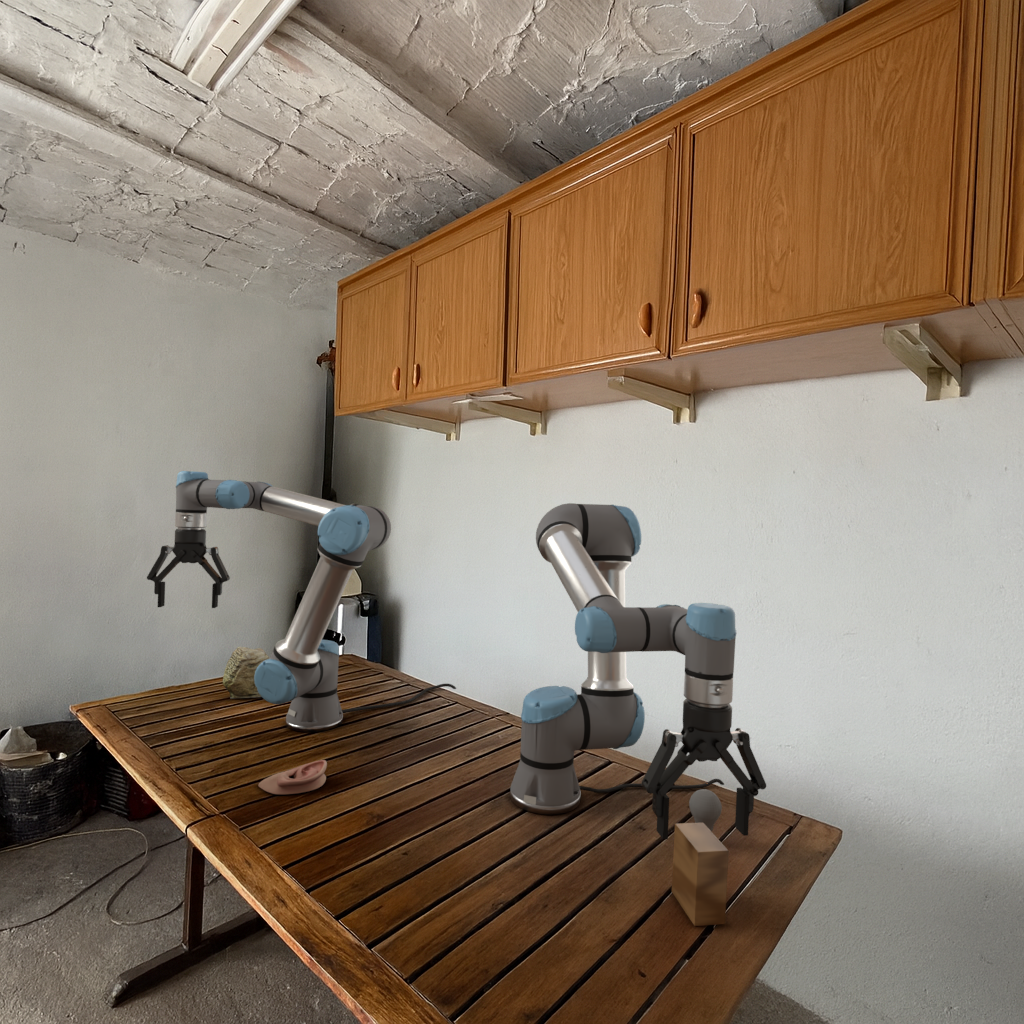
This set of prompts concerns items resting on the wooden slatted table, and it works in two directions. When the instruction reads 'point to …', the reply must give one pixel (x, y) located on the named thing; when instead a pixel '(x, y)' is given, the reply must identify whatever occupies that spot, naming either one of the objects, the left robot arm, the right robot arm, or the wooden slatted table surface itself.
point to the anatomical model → (296, 779)
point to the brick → (700, 873)
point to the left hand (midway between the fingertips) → (188, 607)
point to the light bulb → (705, 807)
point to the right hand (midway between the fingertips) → (702, 833)
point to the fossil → (243, 672)
